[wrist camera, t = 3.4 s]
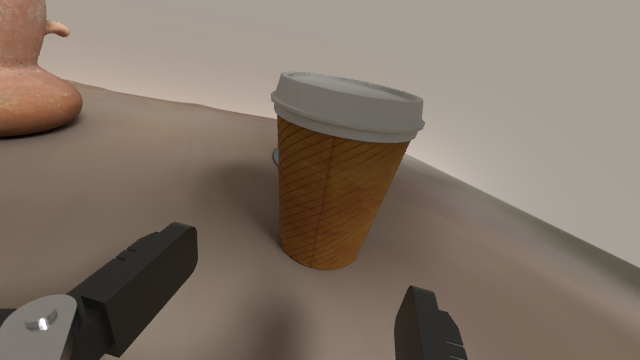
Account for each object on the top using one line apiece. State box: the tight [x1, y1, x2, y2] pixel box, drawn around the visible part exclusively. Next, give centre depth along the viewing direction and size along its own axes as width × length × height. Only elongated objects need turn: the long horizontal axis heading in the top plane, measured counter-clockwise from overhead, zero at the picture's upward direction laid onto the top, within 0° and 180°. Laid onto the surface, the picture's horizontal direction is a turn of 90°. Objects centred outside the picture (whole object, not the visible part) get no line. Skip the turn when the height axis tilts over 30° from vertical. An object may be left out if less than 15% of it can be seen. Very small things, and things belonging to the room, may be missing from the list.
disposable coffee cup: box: [271, 72, 425, 270], centre depth 19 cm, size 10×10×12 cm
